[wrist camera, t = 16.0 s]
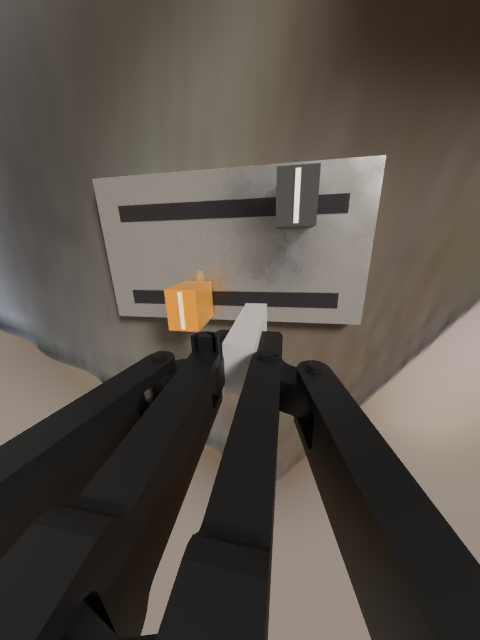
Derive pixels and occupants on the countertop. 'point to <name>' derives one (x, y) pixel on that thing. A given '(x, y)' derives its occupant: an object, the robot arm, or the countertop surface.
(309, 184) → the black fader
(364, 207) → the panel
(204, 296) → the orange fader
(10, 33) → the countertop surface
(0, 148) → the countertop surface
